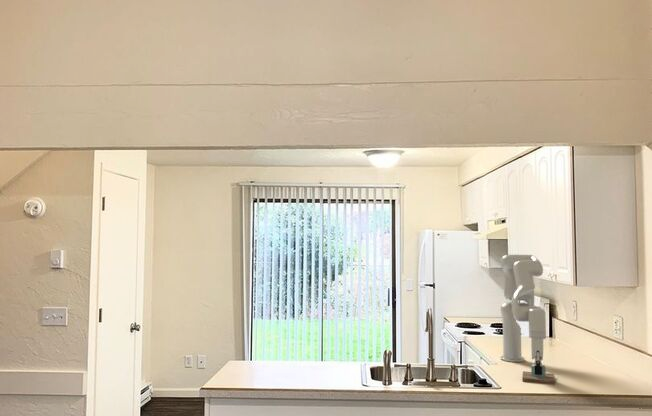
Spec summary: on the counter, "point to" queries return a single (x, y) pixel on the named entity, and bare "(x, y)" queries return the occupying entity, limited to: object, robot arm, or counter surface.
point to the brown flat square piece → (529, 378)
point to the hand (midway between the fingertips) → (538, 372)
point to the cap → (534, 371)
